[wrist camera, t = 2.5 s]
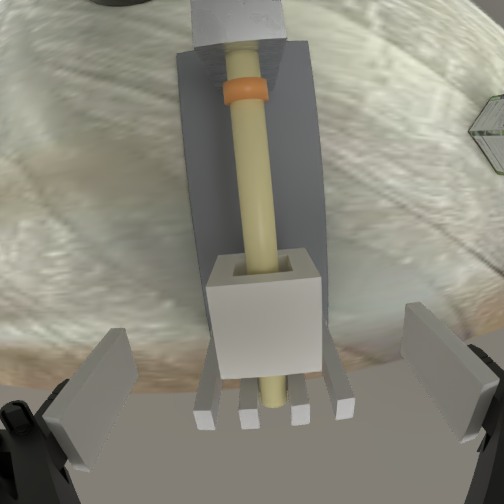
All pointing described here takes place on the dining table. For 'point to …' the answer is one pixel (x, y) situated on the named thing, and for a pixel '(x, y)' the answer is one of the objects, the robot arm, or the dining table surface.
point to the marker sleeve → (266, 316)
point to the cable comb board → (282, 158)
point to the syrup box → (491, 132)
